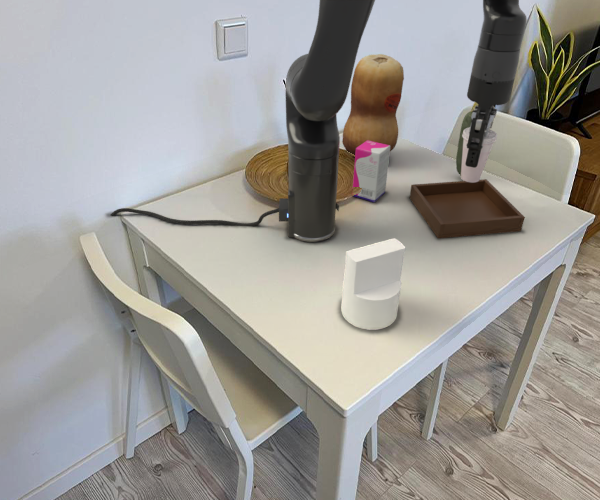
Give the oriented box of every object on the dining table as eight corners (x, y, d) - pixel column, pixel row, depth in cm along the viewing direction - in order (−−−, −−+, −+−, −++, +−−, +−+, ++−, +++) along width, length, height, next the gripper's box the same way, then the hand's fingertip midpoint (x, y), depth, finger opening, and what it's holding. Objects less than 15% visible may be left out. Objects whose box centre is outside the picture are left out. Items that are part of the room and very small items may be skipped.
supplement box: (386, 192, 115) (391, 144, 109) (374, 203, 111) (379, 154, 105) (363, 185, 118) (367, 138, 111) (351, 196, 114) (354, 148, 107)
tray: (437, 238, 100) (440, 224, 98) (409, 197, 114) (411, 184, 112) (520, 231, 103) (525, 217, 101) (483, 192, 116) (486, 179, 114)
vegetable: (450, 179, 121) (466, 95, 110) (452, 171, 124) (469, 89, 113) (469, 182, 120) (488, 98, 108) (471, 175, 123) (490, 92, 112)
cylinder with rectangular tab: (359, 336, 78) (365, 274, 71) (331, 301, 84) (334, 241, 78) (408, 319, 81) (418, 258, 74) (377, 287, 88) (384, 228, 81)
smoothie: (487, 187, 100) (505, 118, 92) (454, 183, 101) (468, 115, 93) (485, 173, 105) (501, 106, 97) (453, 169, 106) (466, 103, 99)
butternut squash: (369, 175, 122) (379, 68, 108) (330, 157, 131) (335, 55, 116) (406, 159, 130) (421, 57, 116) (368, 143, 138) (376, 46, 124)
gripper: (478, 61, 98) (462, 143, 108) (464, 81, 87) (447, 170, 97) (519, 66, 95) (498, 149, 105) (510, 87, 85) (488, 178, 94)
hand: (474, 159), depth 101 cm, fingers closed on smoothie, 6 cm apart
